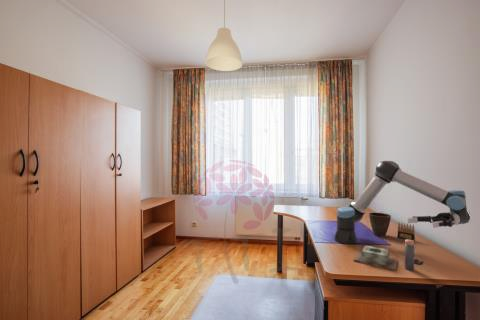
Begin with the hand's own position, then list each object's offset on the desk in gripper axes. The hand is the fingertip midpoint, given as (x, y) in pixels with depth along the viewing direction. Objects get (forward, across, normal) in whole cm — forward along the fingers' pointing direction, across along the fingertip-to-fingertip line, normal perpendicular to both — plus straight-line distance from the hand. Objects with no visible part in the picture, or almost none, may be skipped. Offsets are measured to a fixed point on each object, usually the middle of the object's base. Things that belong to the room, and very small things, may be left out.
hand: (420, 222), depth 133 cm
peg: (+11, 0, -23) cm, 26 cm away
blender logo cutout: (-3, +9, -24) cm, 25 cm away
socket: (+20, +13, -22) cm, 32 cm away
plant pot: (-26, +52, -21) cm, 62 cm away
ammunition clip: (-36, +39, -22) cm, 57 cm away
